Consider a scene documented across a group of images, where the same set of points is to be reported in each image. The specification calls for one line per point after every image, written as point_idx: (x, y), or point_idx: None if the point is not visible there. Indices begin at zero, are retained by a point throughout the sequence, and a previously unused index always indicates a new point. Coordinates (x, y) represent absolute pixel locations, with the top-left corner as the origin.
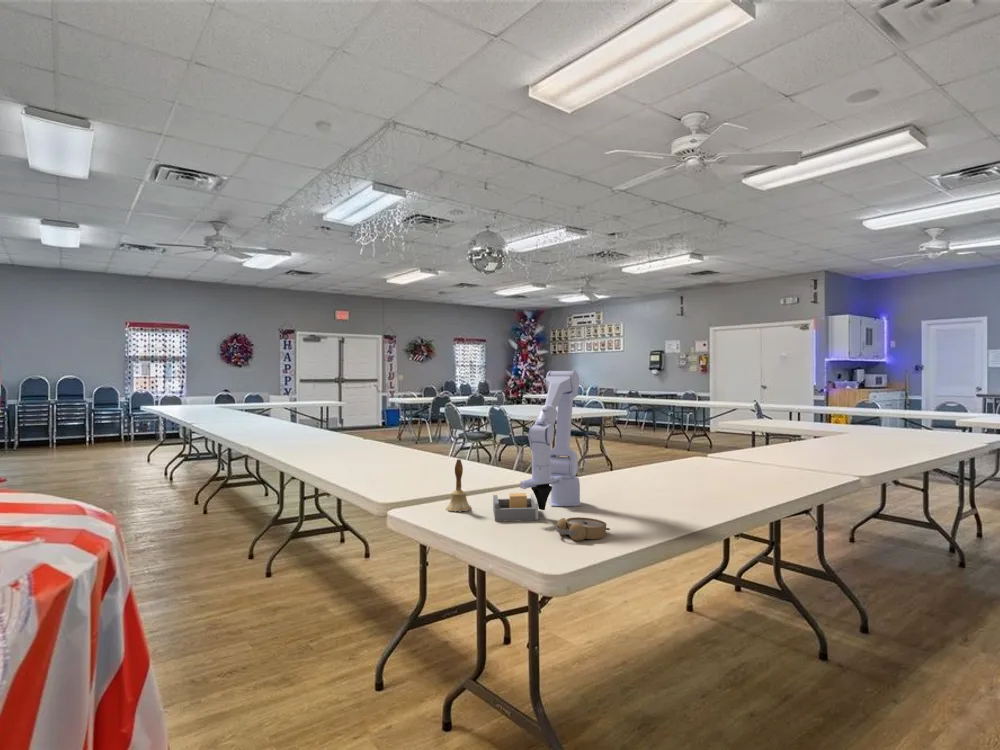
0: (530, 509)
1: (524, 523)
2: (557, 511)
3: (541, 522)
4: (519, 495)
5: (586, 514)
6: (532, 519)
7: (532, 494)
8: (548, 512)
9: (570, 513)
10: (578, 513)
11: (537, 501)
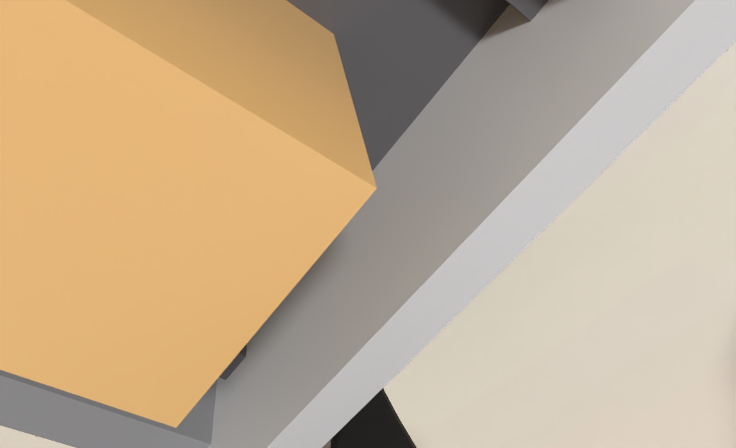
0: (113, 446)
1: None
2: (688, 226)
3: None
4: (28, 304)
5: (728, 429)
6: None
7: (732, 13)
8: (582, 198)
9: (685, 348)
10: (725, 381)
11: (334, 443)
